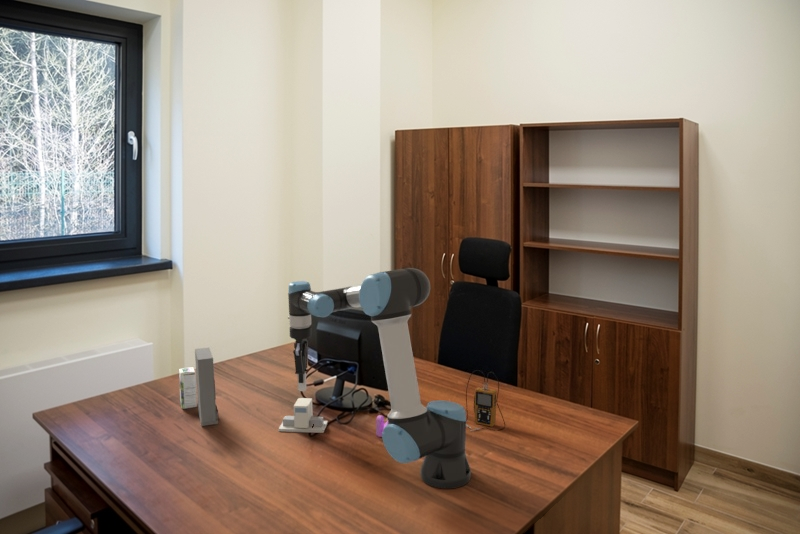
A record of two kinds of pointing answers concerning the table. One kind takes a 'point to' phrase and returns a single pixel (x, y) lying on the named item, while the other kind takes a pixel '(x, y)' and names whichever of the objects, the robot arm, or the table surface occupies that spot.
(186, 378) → the syrup box
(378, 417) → the bracket
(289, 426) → the rail base
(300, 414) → the module
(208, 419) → the tall grey upright slab
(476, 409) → the multimeter
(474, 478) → the table surface
